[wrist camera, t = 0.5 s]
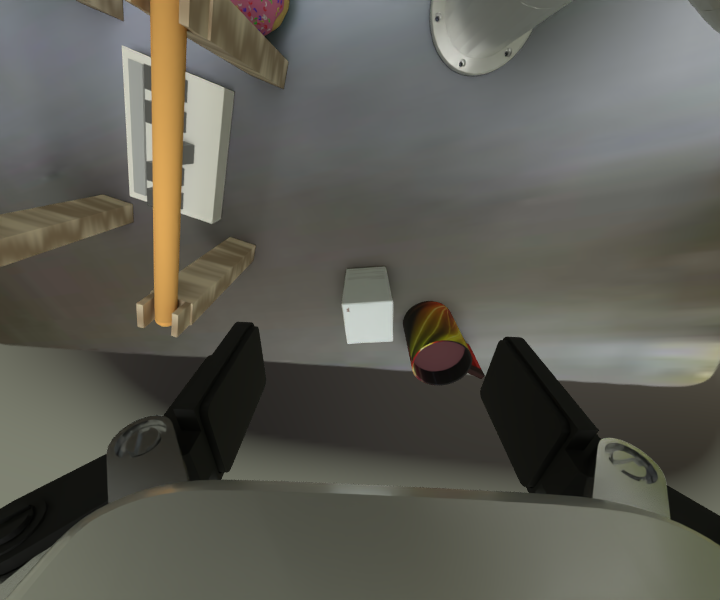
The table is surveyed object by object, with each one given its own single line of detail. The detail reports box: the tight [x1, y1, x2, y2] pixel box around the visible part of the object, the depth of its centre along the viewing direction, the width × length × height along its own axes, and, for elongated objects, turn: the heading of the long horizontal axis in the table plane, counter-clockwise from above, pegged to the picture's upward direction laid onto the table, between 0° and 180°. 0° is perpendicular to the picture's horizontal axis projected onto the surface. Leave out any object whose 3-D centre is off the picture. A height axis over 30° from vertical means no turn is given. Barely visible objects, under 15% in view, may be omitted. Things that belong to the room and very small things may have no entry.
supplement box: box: [342, 266, 393, 344], centre depth 46 cm, size 7×7×13 cm
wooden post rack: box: [0, 0, 288, 337], centre depth 31 cm, size 29×24×22 cm
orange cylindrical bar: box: [150, 0, 187, 327], centre depth 24 cm, size 29×2×2 cm, turn 160°
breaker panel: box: [122, 46, 234, 224], centre depth 38 cm, size 18×12×6 cm, turn 160°
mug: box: [403, 301, 485, 385], centre depth 50 cm, size 10×14×12 cm
